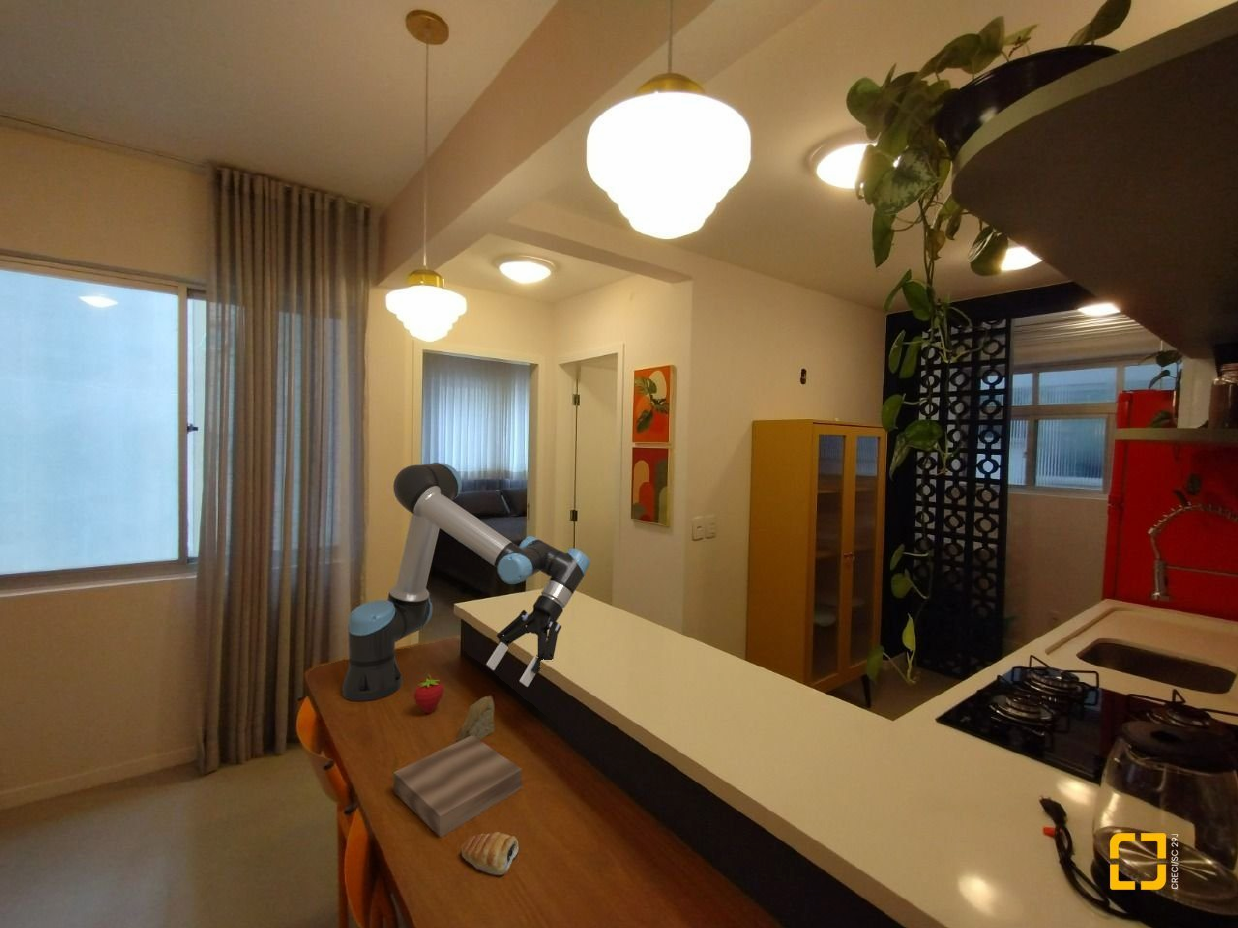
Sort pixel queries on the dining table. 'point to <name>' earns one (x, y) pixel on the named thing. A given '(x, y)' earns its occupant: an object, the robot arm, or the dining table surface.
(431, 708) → the strawberry
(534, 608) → the robot arm
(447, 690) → the dining table surface
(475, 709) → the rock
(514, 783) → the walnut base
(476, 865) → the pastry
